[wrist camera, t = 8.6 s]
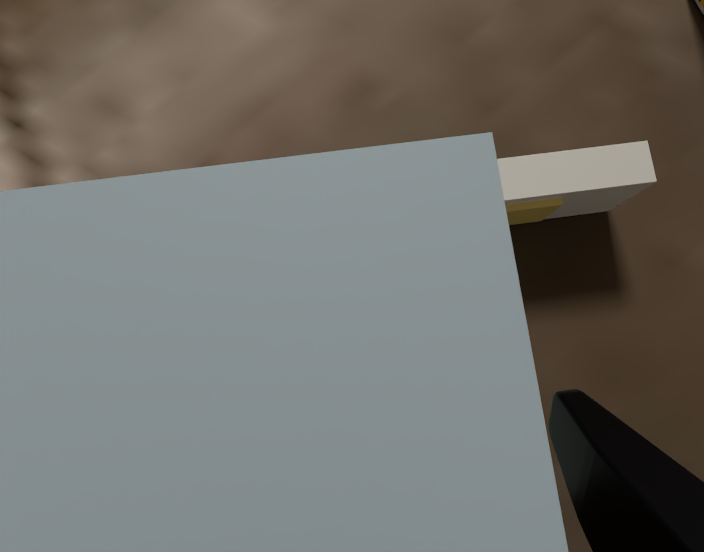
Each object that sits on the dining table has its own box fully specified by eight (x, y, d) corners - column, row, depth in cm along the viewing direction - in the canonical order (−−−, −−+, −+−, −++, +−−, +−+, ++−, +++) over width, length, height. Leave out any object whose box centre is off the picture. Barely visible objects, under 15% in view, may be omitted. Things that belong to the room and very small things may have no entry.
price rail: (608, 217, 19) (658, 188, 16) (-10, 295, 18) (-79, 280, 15) (600, 176, 19) (647, 140, 16) (-12, 252, 18) (-80, 229, 15)
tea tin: (409, 468, 17) (604, 747, 4) (242, 491, 17) (-63, 855, 4) (385, 298, 18) (489, 117, 5) (225, 319, 18) (-73, 183, 5)
